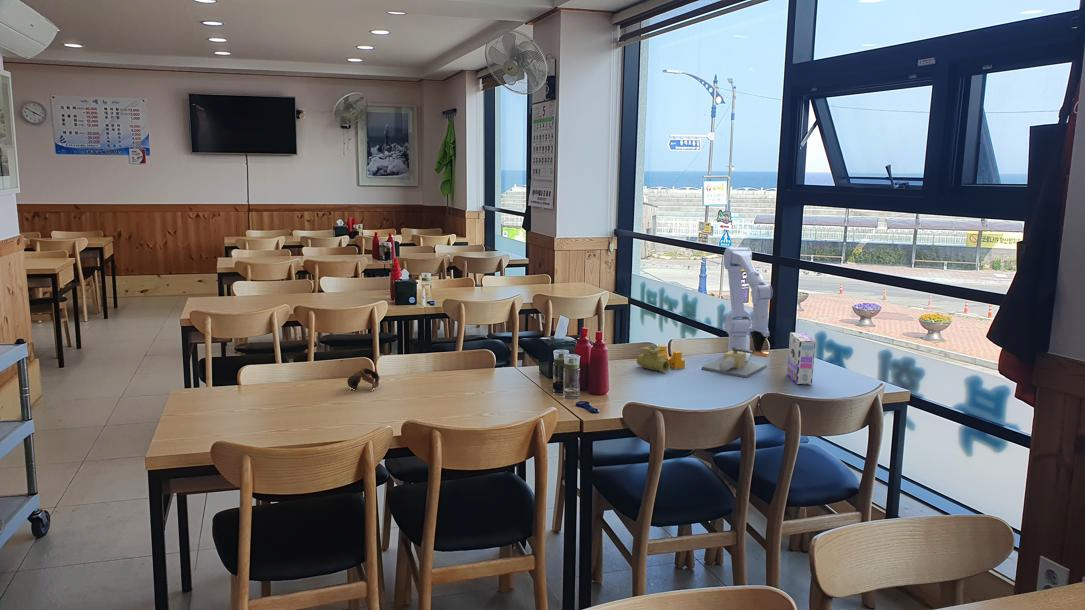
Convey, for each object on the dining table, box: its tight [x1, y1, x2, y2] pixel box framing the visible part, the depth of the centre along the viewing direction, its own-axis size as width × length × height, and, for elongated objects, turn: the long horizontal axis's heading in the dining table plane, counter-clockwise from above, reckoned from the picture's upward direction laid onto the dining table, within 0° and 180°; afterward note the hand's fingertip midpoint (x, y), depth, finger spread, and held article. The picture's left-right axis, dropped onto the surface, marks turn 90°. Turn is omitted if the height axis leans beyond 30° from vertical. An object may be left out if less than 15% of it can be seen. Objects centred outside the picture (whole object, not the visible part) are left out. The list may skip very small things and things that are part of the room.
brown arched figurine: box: [346, 367, 381, 389], centre depth 281 cm, size 12×10×8 cm
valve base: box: [701, 350, 767, 379], centre depth 314 cm, size 19×18×7 cm
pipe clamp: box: [657, 344, 686, 370], centre depth 318 cm, size 12×4×6 cm, turn 26°
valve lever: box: [732, 347, 770, 358], centre depth 310 cm, size 14×3×1 cm, turn 53°
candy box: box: [786, 332, 817, 386], centre depth 299 cm, size 14×6×16 cm, turn 178°
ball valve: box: [636, 343, 671, 373], centre depth 311 cm, size 13×10×10 cm
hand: (757, 350), depth 315 cm, fingers closed
